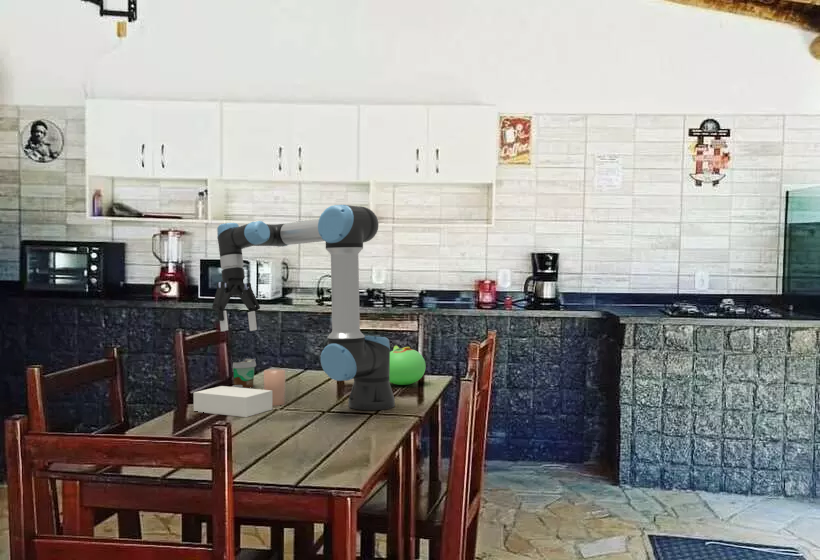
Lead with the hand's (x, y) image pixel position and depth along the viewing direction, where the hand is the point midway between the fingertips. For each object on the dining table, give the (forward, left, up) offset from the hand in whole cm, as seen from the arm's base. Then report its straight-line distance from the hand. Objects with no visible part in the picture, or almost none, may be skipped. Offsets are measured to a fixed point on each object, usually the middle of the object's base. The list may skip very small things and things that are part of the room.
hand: (239, 330), depth 279 cm
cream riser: (-9, +15, -24) cm, 29 cm away
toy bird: (-35, -54, -24) cm, 69 cm away
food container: (+13, -22, -24) cm, 35 cm away
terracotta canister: (-14, 0, -24) cm, 27 cm away
